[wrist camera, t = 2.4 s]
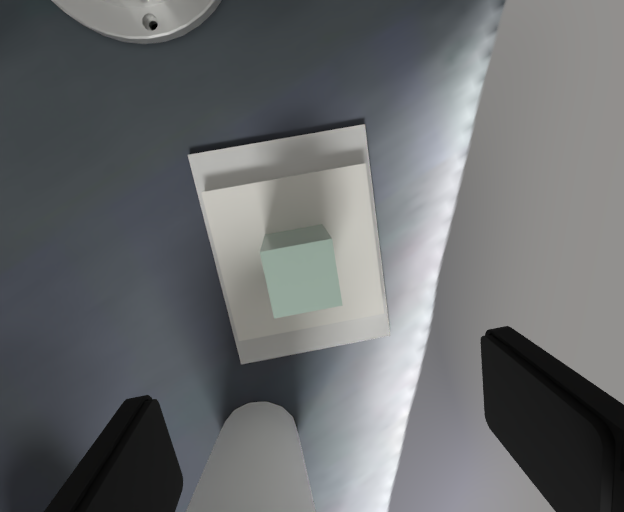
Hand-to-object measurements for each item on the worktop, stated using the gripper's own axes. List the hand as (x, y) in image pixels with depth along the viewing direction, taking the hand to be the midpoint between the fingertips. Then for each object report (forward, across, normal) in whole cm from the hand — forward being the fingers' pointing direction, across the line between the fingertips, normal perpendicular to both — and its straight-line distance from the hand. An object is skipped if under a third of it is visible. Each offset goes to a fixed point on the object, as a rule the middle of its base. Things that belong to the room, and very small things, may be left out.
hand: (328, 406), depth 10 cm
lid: (+16, 0, -1) cm, 16 cm away
